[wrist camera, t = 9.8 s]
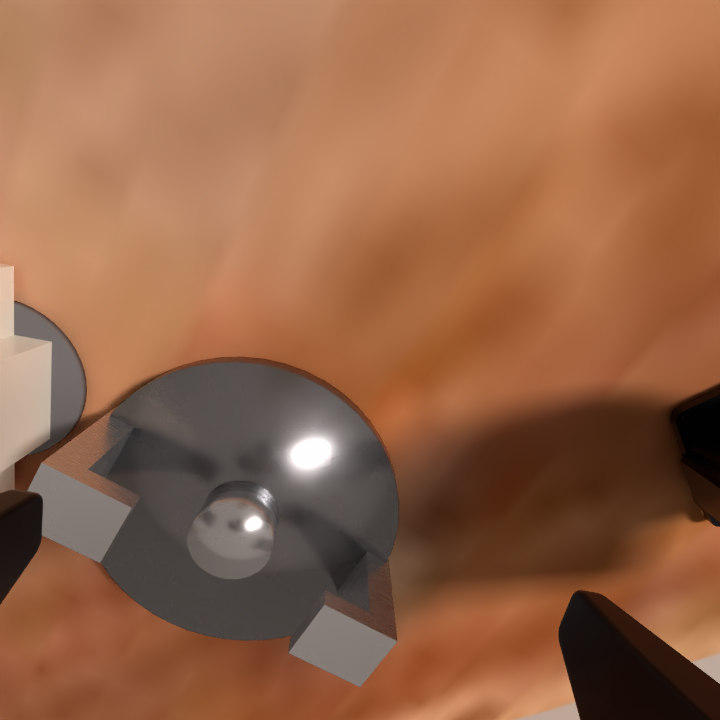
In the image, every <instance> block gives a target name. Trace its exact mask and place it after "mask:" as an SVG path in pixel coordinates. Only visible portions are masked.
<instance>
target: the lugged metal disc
mask: <svg viewBox="0 0 720 720" xmlns="http://www.w3.org/2000/svg"><path fill="white" fill-rule="evenodd" d="M27 491H30V492H35V493H39V494H40V495H41V496H42V498H43V521H42V536H44V537H46V538H48V539H50V540H53V541H55V542H57V543H59V544H61V545H63V546H65V547H67V548H69V549H71V550H73V551H76V552H78V553H80V554H82V555H84V556H86V557H88V558H90V559H92V560H94V561H97V562H99V563H100V562H101V564H102V565H103V566H104V568H105V569H106V571H107V572H108V573H109V575H110V576H111V578H112V579H113V580H114V581H115V582H116V583H117V584H118V585H119V586H120V587H121V588H122V590H123V591H124V592H126V593H127V594H128V595H129V596H130V597H131V598H132V599H134V600H135V601H136V602H137V603H138V604H140V605H141V606H143V607H144V608H146V609H147V610H149V611H150V612H151V613H153V614H154V615H156V616H158V617H160V618H162V619H164V620H166V621H168V622H169V623H171V624H174V625H176V626H179V627H181V628H184V629H186V630H189V631H192V632H196V633H199V634H203V635H206V636H211V637H217V638H222V639H231V640H244V641H247V640H267V639H275V638H282V637H286V636H290V635H292V636H291V639H290V645H289V652H288V653H289V654H292V655H294V656H296V657H298V658H300V659H302V660H304V661H306V662H308V663H310V664H313V665H315V666H317V667H319V668H321V669H323V670H325V671H327V672H329V673H331V674H333V675H336V676H338V677H340V678H342V679H344V680H346V681H348V682H350V683H352V684H354V685H357V686H359V687H361V685H362V684H363V683H364V682H365V681H366V679H367V678H368V677H369V676H370V674H371V673H372V672H373V671H374V670H375V668H376V667H377V666H378V665H379V663H380V662H381V661H382V660H383V659H384V657H385V656H386V655H387V654H388V652H389V651H390V650H391V649H392V647H393V646H394V645H395V644H396V643H397V633H396V624H395V615H394V606H393V597H392V587H391V578H390V569H389V560H388V558H389V556H390V554H391V551H392V548H393V544H394V541H395V538H396V532H397V526H398V519H399V501H398V494H397V488H396V481H395V475H394V470H393V467H392V464H391V460H390V457H389V454H388V452H387V450H386V448H385V445H384V443H383V441H382V439H381V437H380V435H379V434H378V432H377V431H376V429H375V428H374V426H373V425H372V423H371V422H370V420H369V419H368V418H367V417H366V416H365V415H364V413H363V412H362V411H361V410H360V409H359V408H358V406H357V405H355V404H354V403H353V402H352V401H351V400H350V399H349V398H348V397H346V396H345V395H344V394H343V393H342V392H340V391H339V390H338V389H336V388H335V387H333V386H332V385H330V384H329V383H327V382H326V381H324V380H322V379H320V378H318V377H316V376H314V375H312V374H310V373H308V372H307V371H304V370H301V369H298V368H296V367H293V366H290V365H287V364H284V363H280V362H275V361H271V360H267V359H260V358H250V357H220V358H214V359H207V360H201V361H197V362H193V363H190V364H187V365H183V366H180V367H177V368H175V369H173V370H171V371H168V372H166V373H164V374H162V375H160V376H158V377H157V378H155V379H153V380H152V381H150V382H149V383H147V384H145V385H144V386H143V387H141V388H140V389H139V390H137V391H136V392H134V393H133V394H132V395H131V396H130V397H128V398H127V399H126V400H125V401H124V402H123V403H121V404H120V405H118V406H117V407H115V408H114V409H112V410H111V411H110V412H108V413H107V414H106V415H104V416H103V417H102V418H100V419H99V420H98V421H96V422H95V423H94V424H92V425H91V426H90V427H88V428H87V429H86V430H84V431H83V432H82V433H80V434H79V435H78V436H76V437H75V438H74V439H72V440H71V441H70V442H68V443H67V444H66V445H64V446H63V447H62V448H60V449H59V450H58V451H56V452H55V453H54V454H52V455H51V456H50V457H48V458H47V459H46V460H44V461H43V462H42V463H41V465H40V467H39V469H38V471H37V473H36V475H35V477H34V479H33V481H32V483H31V484H30V486H29V488H28V490H27Z"/></svg>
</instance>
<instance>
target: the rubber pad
mask: <svg viewBox="0 0 720 720" xmlns="http://www.w3.org/2000/svg"><path fill="white" fill-rule="evenodd" d="M14 335H17V336H23V337H28V338H34V339H39V340H45V341H51V342H52V362H51V415H50V439H49V440H47V441H46V442H45V443H43V444H42V445H40V446H39V447H37V448H36V449H34V450H33V451H31V452H30V453H29V454H27V455H32V454H35V453H39V452H41V451H44V450H46V449H48V448H50V447H52V446H53V445H55V444H56V443H58V442H59V441H61V440H62V439H63V438H64V437H65V436H67V435H68V434H69V433H70V432H71V431H72V429H73V428H74V427H75V426H76V424H77V423H78V421H79V419H80V417H81V415H82V413H83V410H84V406H85V402H86V394H87V387H86V377H85V372H84V368H83V365H82V362H81V360H80V358H79V356H78V353H77V351H76V350H75V348H74V346H73V345H72V343H71V342H70V340H69V339H68V338H67V336H66V335H65V334H64V333H63V332H62V331H61V330H60V329H59V328H58V327H57V326H56V325H55V324H54V323H53V322H52V321H51V320H49V319H48V318H47V317H46V316H44V315H43V314H41V313H40V312H38V311H36V310H35V309H33V308H31V307H29V306H27V305H25V304H22V303H20V302H17V301H14ZM27 455H26V456H27Z"/></svg>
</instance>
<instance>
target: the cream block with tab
mask: <svg viewBox="0 0 720 720" xmlns="http://www.w3.org/2000/svg"><path fill="white" fill-rule="evenodd" d="M51 362H52V342H51V341H45V340H39V339H34V338H28V337H23V336H17V335H14V266H10V265H5V264H0V493H2V492H5V491H8V490H12V489H15V463H16V462H17V461H18V460H20V459H21V458H23V457H24V456H26V455H27V454H29V453H30V452H31V451H33V450H34V449H36V448H37V447H39V446H40V445H42V444H43V443H45V442H46V441H47V440H49V439H50V415H51Z"/></svg>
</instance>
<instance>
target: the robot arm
mask: <svg viewBox="0 0 720 720" xmlns="http://www.w3.org/2000/svg"><path fill="white" fill-rule="evenodd" d="M685 415H687V418H686V419H685V420H684V421H682V418H683V417H684V416H685ZM670 422H671V424H672V427H673V430H674V433H675V436H676V438H677V441H678V444H679V447H680V449H681V452H682V455H681V459H680V463H681V466H682V468H683V471H684V474H685V477H686V479H687V482H688V485H689V488H690V490H691V493H692V496H693V499H694V501H695V503H696V504H697V505H699V506H700V507H701V508H702V510H703V513H704V516H705V518H706V519H707V520H708V521H709V522H711V523H712V524H713V525H715V526H719V527H720V388H719V389H717V390H715V391H712V392H710V393H708V394H706V395H704V396H701V397H699V398H697V399H695V400H693V401H690V402H688V403H686V404H684V405H681V406H679V407H677V408H676V409H674V410H673V412H672V413H671V416H670ZM42 521H43V498H42V496H41V495H40V494H39V493H35V492H30V491H24V490H18V489H12V490H8V491H5V492H2V493H0V604H1V603H2V601H3V600H4V598H5V597H6V596H7V594H8V593H9V591H10V590H11V588H12V587H13V585H14V584H15V582H16V581H17V580H18V578H19V577H20V575H21V574H22V572H23V571H24V569H25V568H26V567H27V565H28V564H29V562H30V561H31V559H32V558H33V556H34V555H35V553H36V552H37V550H38V548H39V545H40V542H41V538H42ZM559 643H560V647H561V651H562V654H563V658H564V662H565V665H566V669H567V673H568V676H569V680H570V684H571V687H572V691H573V695H574V698H575V702H576V706H577V709H578V713H579V716H580V720H720V684H719V683H718V682H716V681H715V680H714V679H712V678H711V677H710V676H708V675H707V674H706V673H704V672H703V671H702V670H701V669H699V668H698V667H697V666H695V665H694V664H693V663H691V662H690V661H689V660H688V659H686V658H685V657H684V656H682V655H681V654H680V653H678V652H677V651H676V650H674V649H673V648H672V647H670V646H669V645H668V644H667V643H665V642H664V641H663V640H661V639H660V638H659V637H657V636H656V635H655V634H653V633H652V632H651V631H649V630H648V629H647V628H646V627H644V626H643V625H642V624H640V623H639V622H638V621H636V620H635V619H634V618H632V617H631V616H630V615H628V614H627V613H626V612H625V611H623V610H622V609H621V608H619V607H618V606H617V605H615V604H614V603H613V602H611V601H610V600H609V599H608V598H606V597H605V596H603V595H602V594H599V593H595V592H589V591H583V590H579V591H576V592H575V593H574V594H573V595H572V597H571V600H570V602H569V605H568V607H567V609H566V612H565V614H564V616H563V619H562V621H561V624H560V627H559Z"/></svg>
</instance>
